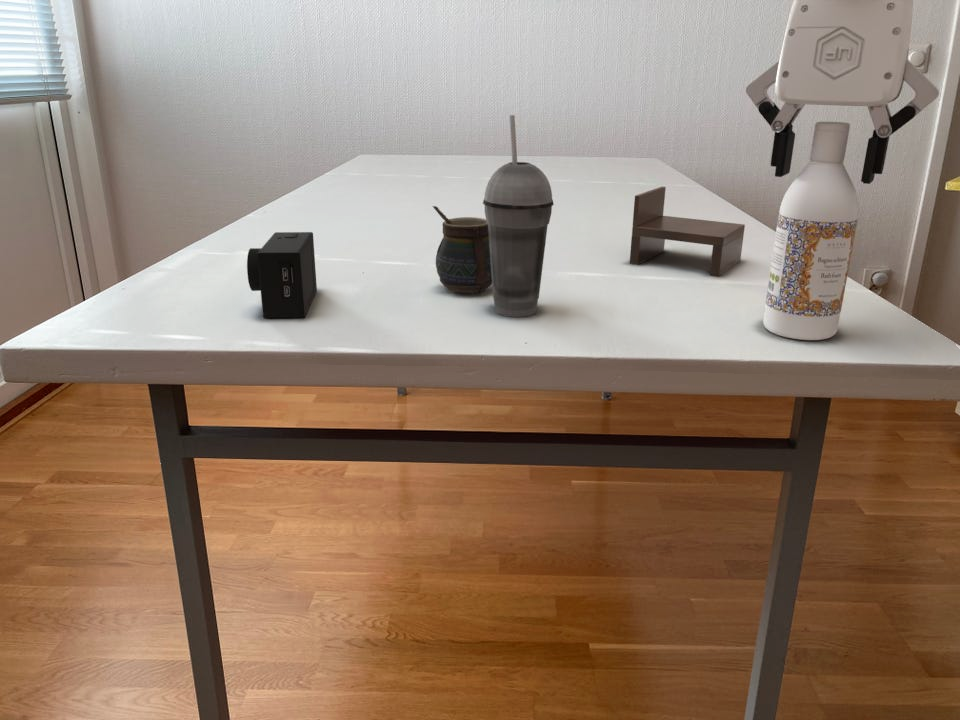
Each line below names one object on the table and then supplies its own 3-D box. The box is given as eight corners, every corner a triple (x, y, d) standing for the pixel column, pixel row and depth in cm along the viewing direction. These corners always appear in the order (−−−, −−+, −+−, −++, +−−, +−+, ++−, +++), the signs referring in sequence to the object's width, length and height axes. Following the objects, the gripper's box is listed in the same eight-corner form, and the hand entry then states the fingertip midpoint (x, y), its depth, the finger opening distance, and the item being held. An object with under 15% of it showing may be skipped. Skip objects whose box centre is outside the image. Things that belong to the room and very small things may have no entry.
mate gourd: (509, 292, 90) (512, 205, 87) (453, 301, 86) (453, 211, 83) (477, 278, 96) (477, 196, 92) (422, 286, 92) (421, 201, 88)
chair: (740, 261, 106) (749, 194, 103) (718, 276, 98) (727, 204, 95) (656, 249, 112) (661, 186, 108) (629, 263, 104) (634, 195, 101)
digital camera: (269, 291, 90) (263, 231, 87) (317, 291, 90) (312, 230, 87) (251, 319, 80) (244, 252, 77) (304, 318, 80) (299, 251, 78)
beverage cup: (514, 325, 79) (519, 119, 71) (467, 309, 84) (468, 115, 77) (563, 311, 83) (573, 116, 76) (516, 297, 88) (521, 112, 81)
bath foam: (787, 344, 74) (822, 125, 67) (749, 322, 80) (777, 120, 73) (851, 339, 75) (892, 125, 68) (809, 318, 82) (842, 119, 75)
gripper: (743, -34, 68) (719, 175, 74) (975, -46, 59) (925, 192, 65) (764, -25, 74) (740, 167, 80) (977, -35, 65) (931, 181, 71)
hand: (823, 177), depth 73 cm, fingers open, 6 cm apart
